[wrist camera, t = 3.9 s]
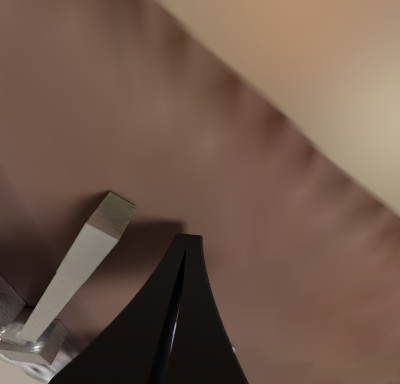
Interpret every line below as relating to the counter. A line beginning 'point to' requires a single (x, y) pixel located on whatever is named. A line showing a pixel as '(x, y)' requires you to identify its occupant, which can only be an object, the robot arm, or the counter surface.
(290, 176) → the counter surface
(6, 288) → the arm
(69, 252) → the bar
